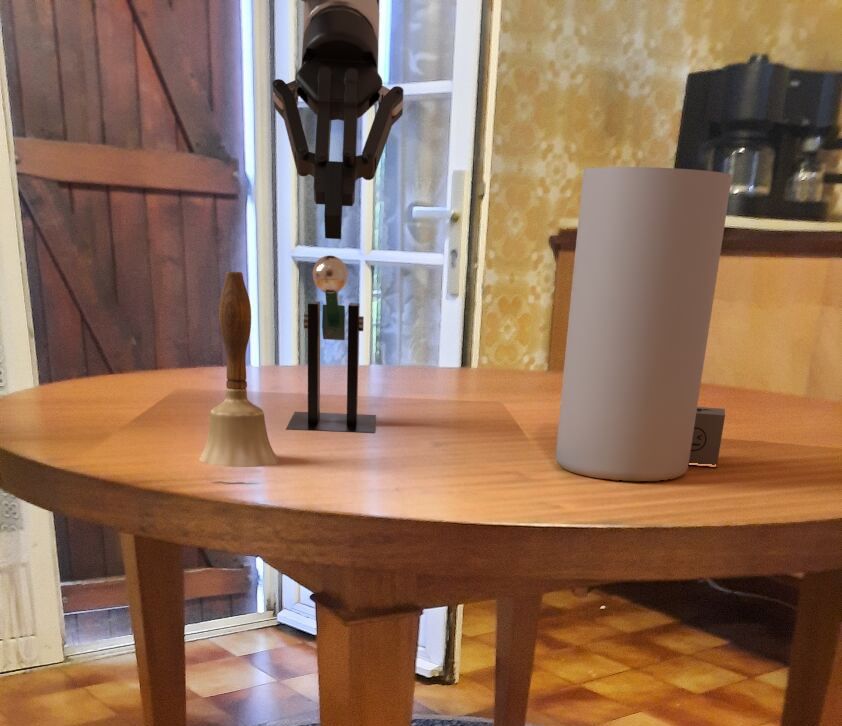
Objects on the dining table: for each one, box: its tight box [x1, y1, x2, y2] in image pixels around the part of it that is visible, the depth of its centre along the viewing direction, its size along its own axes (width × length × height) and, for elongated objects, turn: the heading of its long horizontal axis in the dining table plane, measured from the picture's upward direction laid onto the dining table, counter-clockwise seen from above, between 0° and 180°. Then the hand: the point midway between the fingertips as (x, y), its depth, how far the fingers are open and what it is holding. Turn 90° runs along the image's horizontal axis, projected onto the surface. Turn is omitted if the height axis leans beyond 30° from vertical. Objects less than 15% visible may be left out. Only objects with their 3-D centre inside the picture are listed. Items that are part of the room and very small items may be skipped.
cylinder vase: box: [554, 166, 733, 482], centre depth 96 cm, size 12×12×25 cm
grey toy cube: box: [689, 406, 726, 466], centre depth 107 cm, size 5×5×5 cm
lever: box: [312, 255, 349, 341], centre depth 103 cm, size 13×3×3 cm
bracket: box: [285, 300, 377, 434], centre depth 110 cm, size 12×9×13 cm
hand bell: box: [198, 271, 279, 484], centre depth 89 cm, size 8×8×16 cm
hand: (332, 227), depth 99 cm, fingers closed
